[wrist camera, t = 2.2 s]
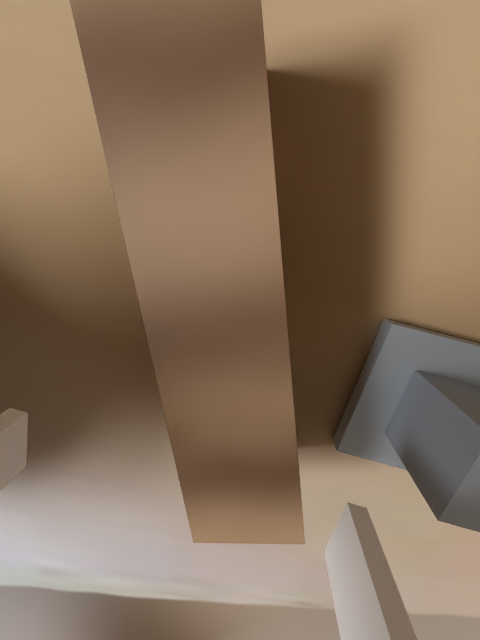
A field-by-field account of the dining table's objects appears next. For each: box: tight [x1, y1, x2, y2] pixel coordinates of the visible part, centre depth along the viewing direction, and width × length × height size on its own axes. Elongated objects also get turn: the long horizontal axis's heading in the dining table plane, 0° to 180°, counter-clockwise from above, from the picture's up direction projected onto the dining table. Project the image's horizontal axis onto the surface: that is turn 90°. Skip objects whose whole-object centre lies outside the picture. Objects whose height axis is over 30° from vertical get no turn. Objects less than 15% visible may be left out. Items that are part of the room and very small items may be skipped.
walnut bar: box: [70, 0, 305, 544], centre depth 12 cm, size 20×5×6 cm, turn 7°
